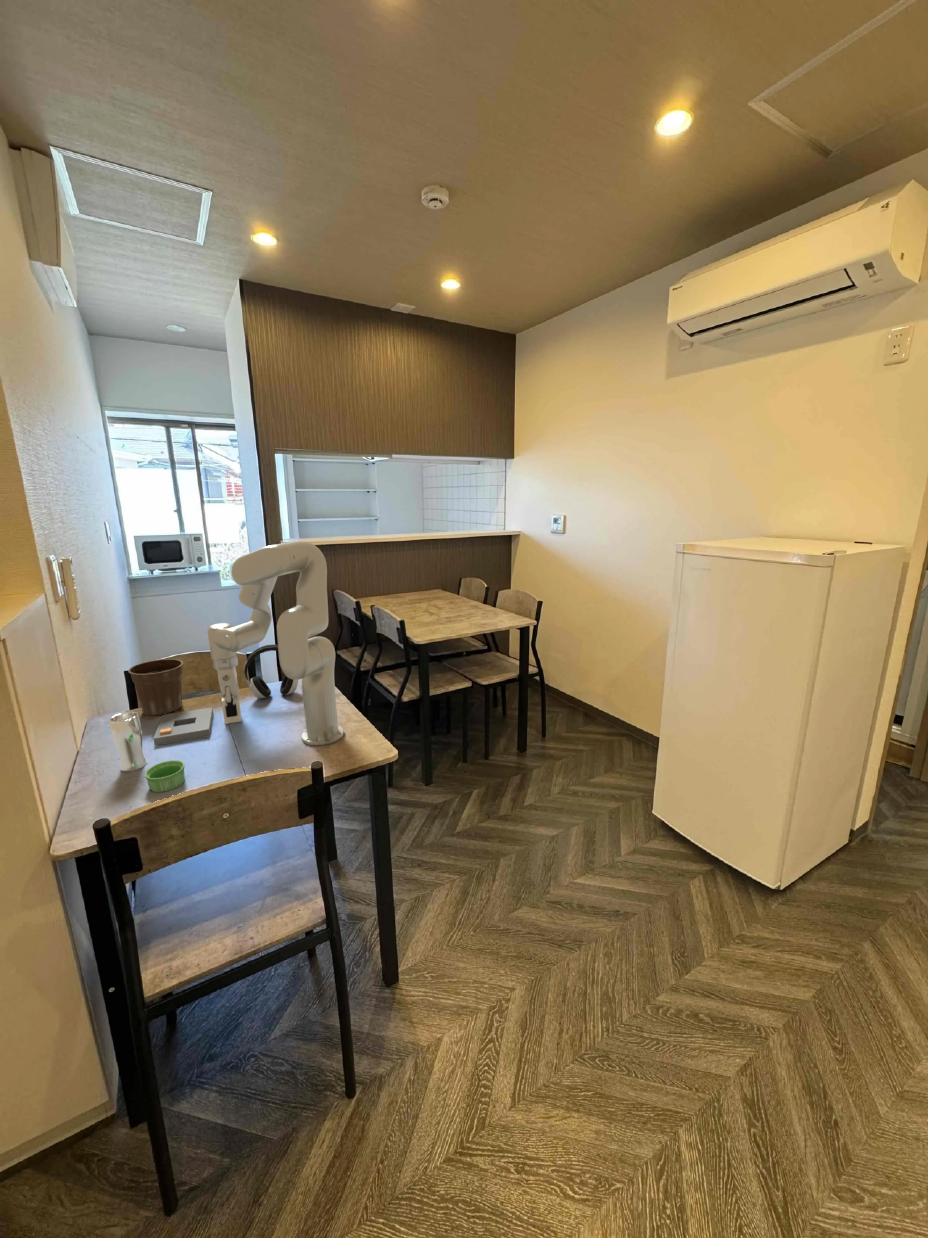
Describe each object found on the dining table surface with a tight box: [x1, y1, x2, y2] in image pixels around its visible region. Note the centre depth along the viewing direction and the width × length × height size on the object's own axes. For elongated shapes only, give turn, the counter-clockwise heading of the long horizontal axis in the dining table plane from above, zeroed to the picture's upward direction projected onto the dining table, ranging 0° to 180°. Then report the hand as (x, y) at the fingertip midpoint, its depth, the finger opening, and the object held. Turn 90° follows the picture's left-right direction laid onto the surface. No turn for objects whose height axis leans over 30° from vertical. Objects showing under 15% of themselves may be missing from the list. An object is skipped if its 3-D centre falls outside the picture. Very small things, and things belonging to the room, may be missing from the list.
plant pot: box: [127, 658, 184, 717], centre depth 175 cm, size 16×16×16 cm
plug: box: [221, 695, 242, 725], centre depth 166 cm, size 4×5×10 cm
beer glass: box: [109, 711, 147, 773], centre depth 138 cm, size 7×7×15 cm
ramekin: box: [144, 759, 186, 793], centre depth 130 cm, size 9×9×4 cm
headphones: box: [243, 644, 299, 699], centre depth 184 cm, size 19×8×20 cm, turn 112°
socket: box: [153, 706, 214, 746], centre depth 161 cm, size 18×15×3 cm
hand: (232, 713), depth 166 cm, fingers closed on plug, 3 cm apart
